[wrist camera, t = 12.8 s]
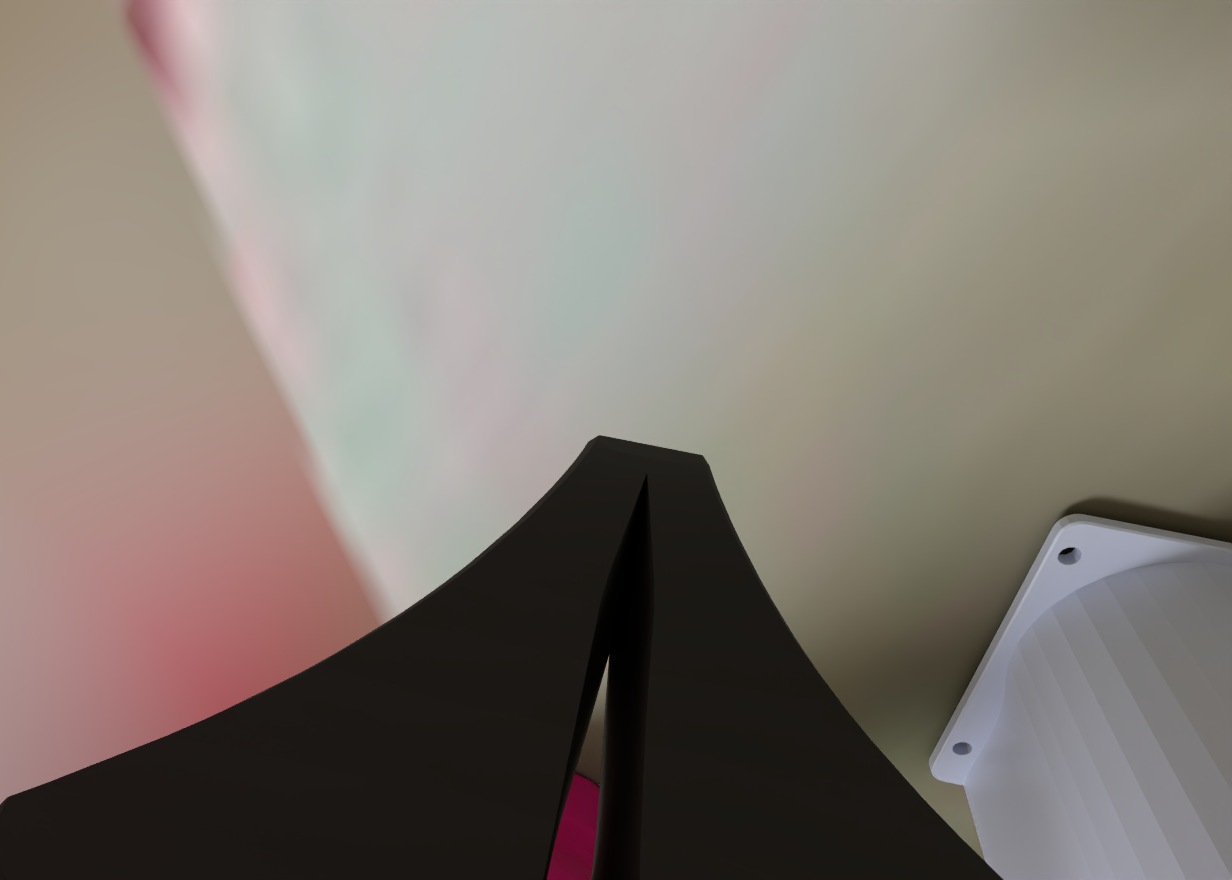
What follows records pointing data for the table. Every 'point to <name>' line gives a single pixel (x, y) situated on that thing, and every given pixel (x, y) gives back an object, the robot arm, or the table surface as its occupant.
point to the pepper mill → (576, 833)
